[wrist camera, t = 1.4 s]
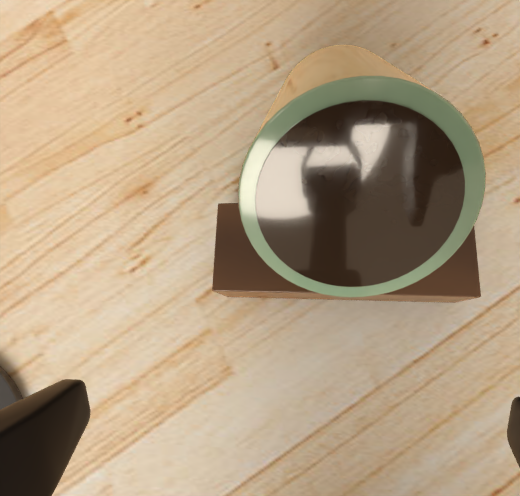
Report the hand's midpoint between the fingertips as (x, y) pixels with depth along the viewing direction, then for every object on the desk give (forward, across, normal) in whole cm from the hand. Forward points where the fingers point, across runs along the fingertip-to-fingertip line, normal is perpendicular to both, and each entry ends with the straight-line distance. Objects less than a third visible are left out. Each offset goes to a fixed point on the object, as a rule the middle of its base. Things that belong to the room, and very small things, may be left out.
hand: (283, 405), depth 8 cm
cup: (+15, -2, -2) cm, 15 cm away
